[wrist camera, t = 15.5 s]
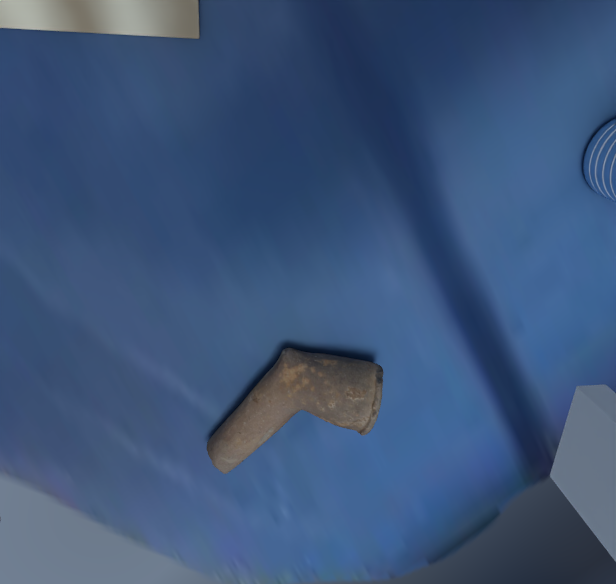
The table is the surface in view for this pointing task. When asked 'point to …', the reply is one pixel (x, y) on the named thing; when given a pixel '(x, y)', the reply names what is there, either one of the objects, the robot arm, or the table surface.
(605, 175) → the water bottle
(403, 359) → the table surface
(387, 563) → the table surface
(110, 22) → the birch board
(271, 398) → the pipe
